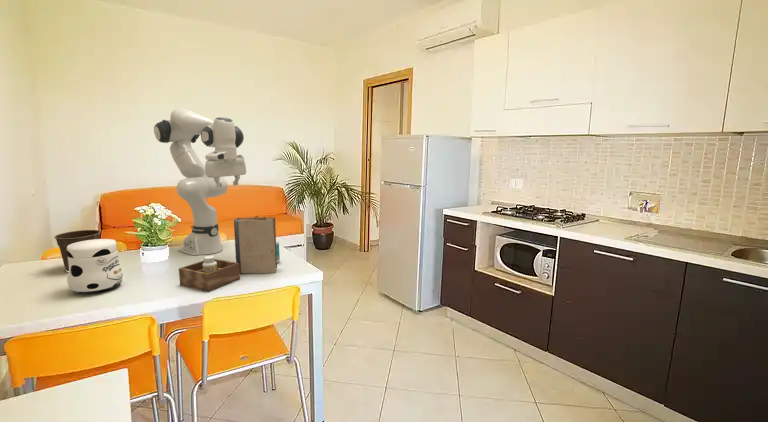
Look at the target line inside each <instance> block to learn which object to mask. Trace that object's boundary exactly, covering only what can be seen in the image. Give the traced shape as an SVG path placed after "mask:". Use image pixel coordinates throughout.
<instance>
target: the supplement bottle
mask: <svg viewBox="0 0 768 422" xmlns="http://www.w3.org/2000/svg"><path fill="white" fill-rule="evenodd" d="M215 259H216V258H215V256H214V255H206V256H204V257H203V261H205V262H204V263H203V272H204V273H210V272H213V271H216V270H217V262H216V261H214V260H215Z"/></svg>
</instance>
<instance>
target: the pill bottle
mask: <svg viewBox="0 0 768 422" xmlns="http://www.w3.org/2000/svg"><path fill="white" fill-rule="evenodd" d="M276 256H277V264H279V263H280V260H281V256H280V241H279V239H278V238H276Z"/></svg>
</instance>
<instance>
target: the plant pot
mask: <svg viewBox="0 0 768 422" xmlns="http://www.w3.org/2000/svg"><path fill="white" fill-rule="evenodd" d="M100 234H102V232H101V230H98V229H83V230H75V231H74V230H73V231H68V232H63V233H58V234H56V235H55V236H54V237H53V238H54V239H55V241H56V244H57V246H58V247H59V248H58V249H59V251H60V254H61V257H62V262H63V266H64V269H65V271H66V270H67V271H69V264H68V259H67V257H68V256H67V246H68V245H70V244H72V243H76V242H80V241H86V240H94V239H101V235H100Z"/></svg>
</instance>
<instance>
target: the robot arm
mask: <svg viewBox="0 0 768 422" xmlns="http://www.w3.org/2000/svg"><path fill="white" fill-rule="evenodd" d="M153 133H154V136H155V138H156V140H157V141H158V142H159V143H162V144H163V143H164V144H169V143H171V144H170V147H169V151H170V155H171V156H172V159H173V161H174V163H175V166H176V167H177V168H178V170H179V171H180V173H181V175H182V176H183V177H185V178H183V179H181V180H179V181H178V182H177V185H176V192H177V195H178V196H179V198H181V199H183V200H184V201H185V202H186V203H187V204H188V205H189V207H190V209H191V212H192V219H193V225H191V226H189V227H190V228H191V232H190V233H189V234H188V235H187V236H186V237H184V239H183V242H182V243H183V244H182V247H179V248H178V252H181V253H184V254H186V255H190V256H199V255H200V256H201V255H212V254H217V253H220V252H221V251H222V250H223V245H222V242H221V237H220V232H219V230H220V229H219V227H220V226H219V224H218V217H217V216H218V215H217V209H216V208H215V207H214V206H213V205H210V204H208V202H207V199H208V198H217V197H220V196H223V195H225V194H226V193H227V191H228V188H229V186H228V182H227V180H226V178H225V177H234V181H232V185H233V186H234V187H235V186H239V180H240V178H241V176H243V175H244V176H245V175H246V174H247V167H246V166H247V165H246V162H245V157H244V156H243V155H242V154H237V148H239V147H240V146H241V145H242V144H243V142H244V139H245V138H244V134H243V133H244V132H243V131H242V130H241V128H239V127H238V126H237V125H235V122H234V120H232V119H231V118H229V117H228V118H227V117H216V118H214V119H213V120H212V119H210V118H208V117H206V116H204V115H201V114H200V113H197V112H195V111H193V110H191V109H189V108H184V107H177V108H174V109H173V110H171V112H170V119H169V120H166V119H163V120H161V121H159V122H157V123H156V124H155V125H154V126H153ZM199 138H201V142H202V143H203V145H205V146H206V147H209V148H214V150H213V151H212V152H209V153H207V154H205V156H204V157H205V158H204V159H205V160H206V161H205V162H204V163H205V165H204V163H203V162H202V161H201V159H200V157H199V156H198V154H197V153H196V152H195V150H194V149H193V147H192V144H194V143H196V142H197V139H199ZM191 143H192V144H191Z"/></svg>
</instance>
